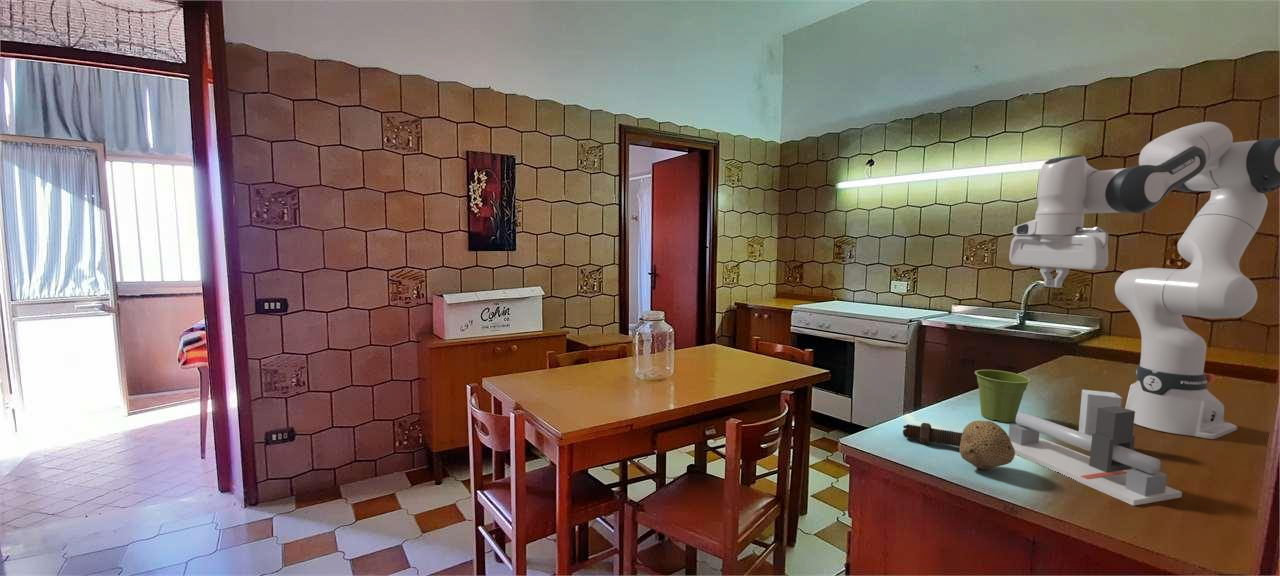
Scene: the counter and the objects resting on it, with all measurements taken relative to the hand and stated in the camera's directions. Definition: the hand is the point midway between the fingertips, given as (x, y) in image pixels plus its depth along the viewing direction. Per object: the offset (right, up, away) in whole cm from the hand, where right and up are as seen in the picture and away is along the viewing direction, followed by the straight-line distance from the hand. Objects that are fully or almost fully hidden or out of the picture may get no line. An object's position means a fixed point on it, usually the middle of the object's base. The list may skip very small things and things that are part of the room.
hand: (1052, 287), depth 122 cm
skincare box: (+7, -36, -4) cm, 37 cm away
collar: (-6, -35, -21) cm, 41 cm away
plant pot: (-4, -34, +13) cm, 37 cm away
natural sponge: (-27, -37, -17) cm, 49 cm away
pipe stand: (-7, -37, -16) cm, 41 cm away
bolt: (-29, -36, -5) cm, 46 cm away
